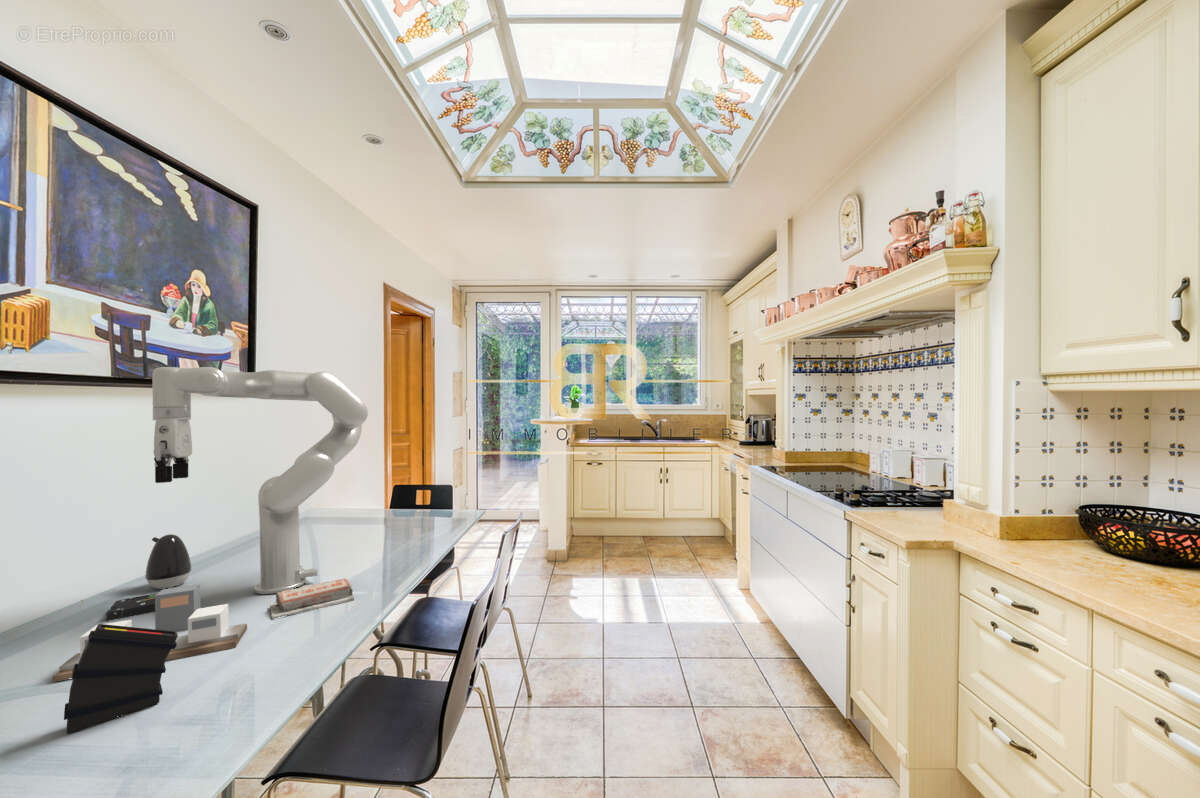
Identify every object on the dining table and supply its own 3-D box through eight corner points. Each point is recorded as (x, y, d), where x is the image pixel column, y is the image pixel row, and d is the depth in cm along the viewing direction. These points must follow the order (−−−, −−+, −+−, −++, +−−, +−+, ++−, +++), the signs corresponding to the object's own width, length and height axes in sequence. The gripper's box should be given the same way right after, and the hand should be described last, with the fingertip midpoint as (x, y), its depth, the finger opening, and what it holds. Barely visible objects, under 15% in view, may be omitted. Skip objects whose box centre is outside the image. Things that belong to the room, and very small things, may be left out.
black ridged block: (35, 725, 75) (95, 622, 80) (142, 725, 83) (189, 632, 89) (34, 736, 72) (95, 629, 77) (143, 734, 81) (192, 638, 86)
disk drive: (106, 624, 119) (185, 607, 128) (105, 612, 119) (184, 596, 128) (115, 611, 127) (189, 596, 136) (115, 600, 127) (189, 586, 136)
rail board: (247, 628, 112) (246, 620, 112) (235, 647, 103) (235, 637, 103) (82, 658, 100) (82, 649, 100) (52, 682, 91) (52, 671, 91)
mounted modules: (228, 626, 109) (228, 603, 109) (220, 637, 103) (219, 614, 103) (96, 649, 99) (96, 625, 100) (79, 663, 94) (79, 637, 94)
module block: (200, 621, 117) (200, 583, 117) (194, 629, 113) (193, 590, 113) (163, 627, 114) (162, 589, 114) (155, 636, 110) (154, 595, 110)
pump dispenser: (171, 580, 150) (170, 530, 150) (200, 580, 148) (199, 530, 149) (135, 592, 140) (134, 539, 140) (166, 592, 138) (165, 539, 139)
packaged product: (347, 574, 135) (354, 583, 127) (347, 591, 135) (354, 602, 127) (269, 590, 124) (271, 601, 116) (269, 609, 124) (272, 622, 116)
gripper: (175, 413, 120) (175, 483, 120) (202, 414, 136) (203, 475, 136) (136, 414, 118) (136, 485, 117) (169, 415, 134) (169, 477, 133)
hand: (172, 480), depth 126 cm, fingers open, 9 cm apart
